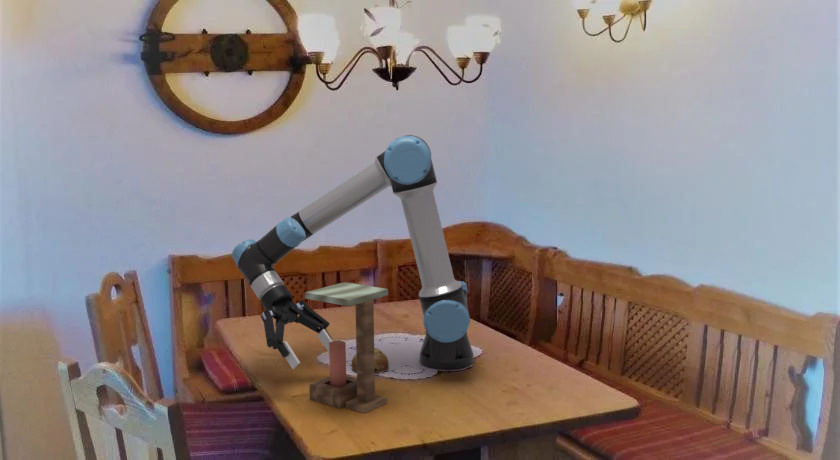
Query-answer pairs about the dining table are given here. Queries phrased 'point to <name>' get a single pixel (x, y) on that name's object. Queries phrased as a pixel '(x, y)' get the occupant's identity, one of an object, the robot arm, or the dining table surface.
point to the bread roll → (379, 360)
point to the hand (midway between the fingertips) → (316, 359)
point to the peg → (337, 363)
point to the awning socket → (362, 388)
